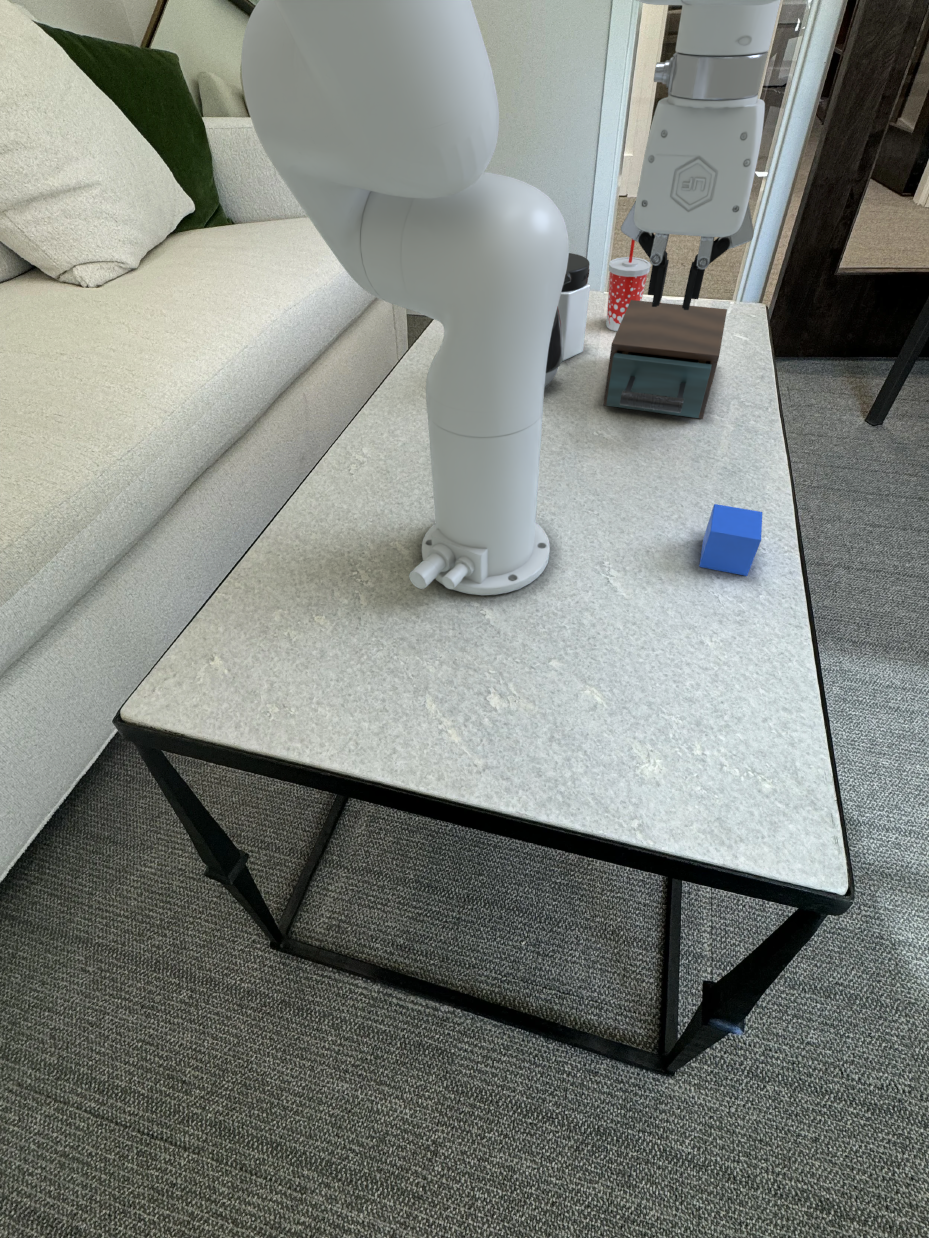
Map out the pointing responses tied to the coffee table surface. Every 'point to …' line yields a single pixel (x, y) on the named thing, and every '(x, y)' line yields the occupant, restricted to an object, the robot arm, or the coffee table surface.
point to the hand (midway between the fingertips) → (671, 302)
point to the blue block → (731, 539)
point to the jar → (574, 305)
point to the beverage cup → (625, 286)
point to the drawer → (658, 383)
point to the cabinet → (671, 335)
